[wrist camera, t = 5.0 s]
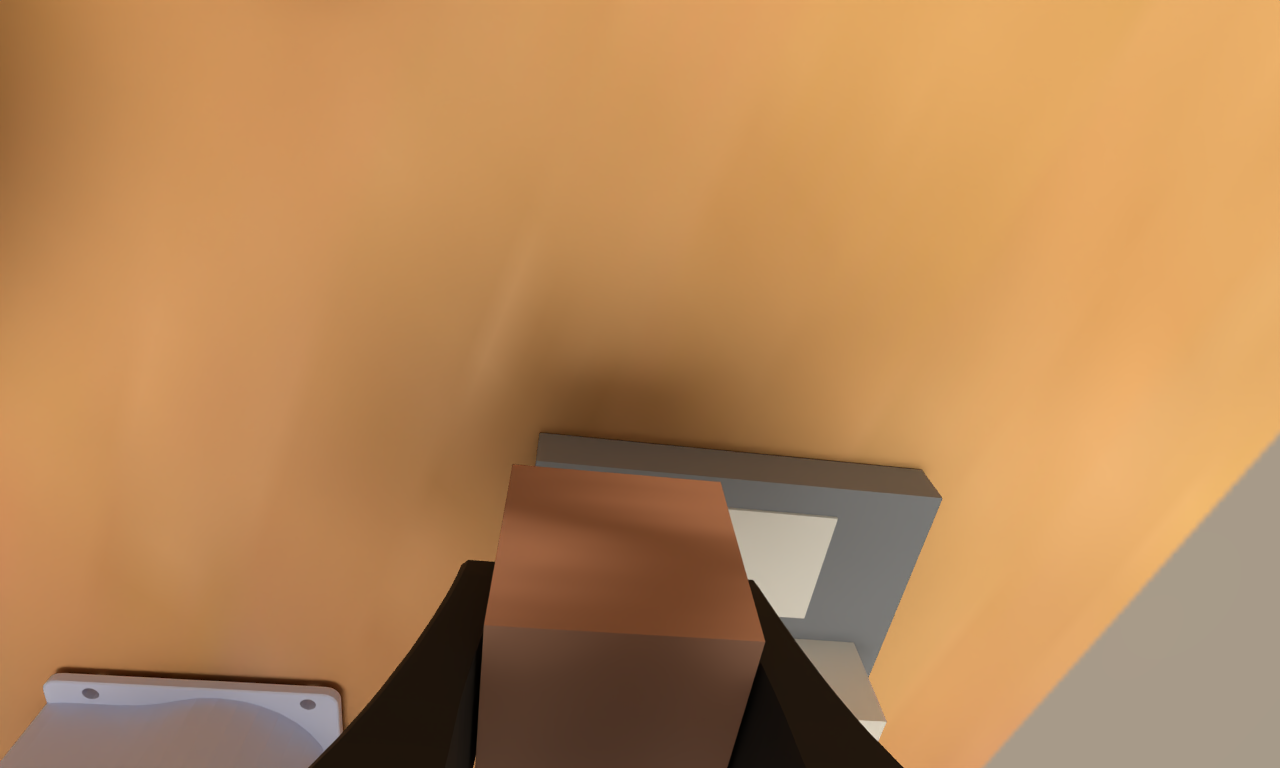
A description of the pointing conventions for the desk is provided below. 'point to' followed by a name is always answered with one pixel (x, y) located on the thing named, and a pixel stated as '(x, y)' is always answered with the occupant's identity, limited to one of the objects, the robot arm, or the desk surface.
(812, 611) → the grey mounting plate
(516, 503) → the terracotta cube
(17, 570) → the desk surface
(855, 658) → the socket base
